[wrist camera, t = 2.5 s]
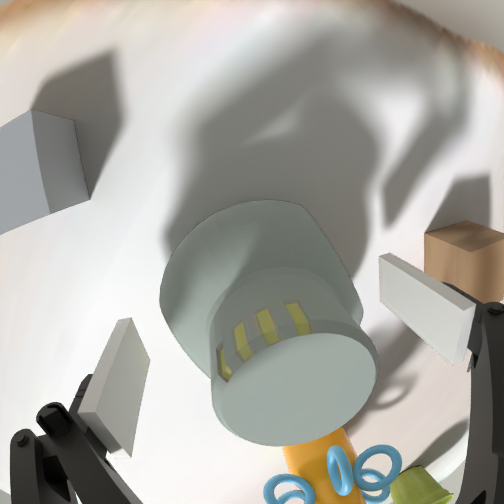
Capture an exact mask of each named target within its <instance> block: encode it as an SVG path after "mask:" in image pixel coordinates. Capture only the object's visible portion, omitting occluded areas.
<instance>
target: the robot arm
mask: <svg viewBox="0 0 504 504" xmlns="http://www.w3.org/2000/svg"><path fill="white" fill-rule="evenodd" d="M379 279H380V302H381V303H383V304H384V305H385V306H386V307H387V308H388V309H389V310H391V311H392V312H393V313H394V314H395V315H396V316H397V317H399V318H400V319H401V320H402V321H403V322H404V323H405V324H406V325H407V326H409V327H410V328H411V329H412V330H413V331H414V332H415V333H416V334H417V335H419V336H420V337H421V338H422V339H423V340H424V341H425V342H426V343H427V344H428V345H430V346H431V347H432V348H433V349H434V350H435V351H436V352H437V353H438V354H439V355H440V356H441V357H442V358H443V359H445V360H446V361H447V362H448V363H449V364H450V365H451V366H454V365H456V364H457V363H459V362H461V361H462V360H464V359H465V355H466V351H467V348H468V349H469V350H471V351H472V355H471V359H470V362H469V366H468V369H467V372H469V371H470V368H471V411H470V427H469V439H468V448H467V456H466V463H465V469H464V476H463V481H462V486H461V491H460V494H459V497H458V499H457V501H456V503H455V504H504V304H502V303H499V302H488V303H485V304H483V303H482V302H480V301H479V300H477V299H475V298H474V297H472V296H470V295H469V294H467V293H465V292H464V291H462V290H460V289H459V288H457V287H456V286H454V285H452V284H449V283H445V282H440V281H438V280H436V279H435V278H433V277H431V276H430V275H428V274H426V273H425V272H423V271H421V270H419V269H418V268H416V267H414V266H413V265H411V264H409V263H407V262H406V261H404V260H402V259H400V258H399V257H397V256H395V255H393V254H391V253H388V254H384V255H381V256H379ZM149 364H150V359H149V356H148V354H147V352H146V350H145V348H144V346H143V343H142V341H141V339H140V337H139V334H138V332H137V330H136V327H135V325H134V322H133V320H132V318H126V319H121V320H118V322H117V324H116V326H115V328H114V330H113V332H112V334H111V336H110V338H109V340H108V343H107V345H106V347H105V349H104V351H103V353H102V356H101V358H100V360H99V362H98V365H97V367H96V369H95V371H94V374H88V375H87V376H86V377H85V379H84V380H83V381H82V382H81V384H80V386H79V388H78V391H77V393H76V395H75V398H74V400H73V402H72V404H71V407H70V409H69V412H68V411H67V410H66V409H65V407H64V406H63V405H62V404H61V403H59V402H52V403H49V404H47V405H45V406H44V407H42V408H41V409H40V411H39V412H38V414H37V416H36V422H37V423H38V424H39V426H40V427H41V428H42V429H43V430H44V432H45V433H46V434H45V435H42V436H38V437H37V436H36V435H35V434H34V433H33V432H32V431H31V430H30V429H22V430H20V431H18V432H16V433H15V434H14V436H13V437H12V439H11V443H10V487H11V501H12V504H78V501H77V498H76V494H77V495H78V497H79V499H80V501H81V502H82V504H143V503H142V502H141V501H140V500H139V498H138V497H137V496H136V495H135V494H134V493H133V491H132V490H131V489H130V488H129V487H128V485H127V484H126V483H125V482H124V480H123V479H122V478H121V477H120V475H119V474H118V473H117V471H116V470H115V469H114V467H113V466H112V465H111V463H110V462H109V461H108V460H107V459H106V458H105V457H106V453H107V450H108V452H109V453H110V454H111V455H112V456H113V457H114V458H131V457H132V450H133V444H134V438H135V433H136V427H137V422H138V416H139V411H140V406H141V401H142V396H143V391H144V386H145V382H146V377H147V372H148V368H149ZM75 492H76V494H75Z"/></svg>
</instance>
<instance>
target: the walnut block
mask: <svg viewBox="0 0 504 504" xmlns="http://www.w3.org/2000/svg"><path fill="white" fill-rule="evenodd" d="M424 272H425V273H426V274H428V275H430V276H431V277H433V278H435V279H436V280H438V281H440V282H445V283H449V284H452V285H454V286H456V287H457V288H459V289H460V290H462V291H464V292H465V293H467V294H469V295H470V296H472V297H474V298H475V299H477V300H479V301H480V302H482V303H483V304H485V303H488V302H500V301H501V300H503V297H504V233H501V232H498V231H496V230H493V229H490V228H487V227H484V226H481V225H478V224H475V223H472V222H469V221H465V222H461V223H458V224H455V225H451V226H448V227H444V228H441V229H437V230H434V231H430V232H427V233H424Z"/></svg>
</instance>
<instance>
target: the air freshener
mask: <svg viewBox="0 0 504 504" xmlns="http://www.w3.org/2000/svg"><path fill="white" fill-rule="evenodd" d="M159 302H160V308H161V311H162V314H163V316H164V318H165V320H166V323H167V324H168V326H169V328H170V330H171V332H172V334H173V335H174V337H175V338H176V340H177V341H178V343H179V344H180V346H181V347H182V349H183V350H184V351H185V352H186V354H187V355H188V356H189V357H190V359H191V360H192V361H193V362H194V363H195V364H196V366H197V367H198V368H199V369H200V370H201V371H202V372H203V373H204V374H205V375H206V376H207V377H208V378H210V379H211V391H212V404H213V408H214V411H215V414H216V416H217V418H218V419H219V421H220V422H221V424H222V425H223V426H224V427H225V428H226V429H228V430H229V431H230V432H232V433H233V434H235V435H236V436H238V437H241V438H243V439H245V440H248V441H250V442H253V443H257V444H260V445H266V446H292V445H298V444H303V443H307V442H310V441H313V440H316V439H319V438H321V437H323V436H326V435H328V434H330V433H331V432H333V431H335V430H337V429H338V428H340V427H341V426H343V425H344V424H345V423H347V422H348V421H349V420H350V419H351V418H353V417H354V416H355V415H356V414H357V412H358V411H359V410H360V409H361V408H362V407H363V405H364V404H365V402H366V401H367V399H368V397H369V395H370V393H371V392H372V389H373V387H374V385H375V382H376V379H377V376H378V368H379V361H378V354H377V351H376V348H375V346H374V344H373V343H372V341H371V340H370V338H369V337H368V336H367V335H366V333H365V332H364V331H363V330H362V329H361V327H360V323H361V321H362V318H363V307H362V304H361V301H360V298H359V296H358V294H357V291H356V289H355V287H354V285H353V283H352V281H351V279H350V277H349V275H348V273H347V271H346V269H345V267H344V265H343V264H342V262H341V260H340V258H339V257H338V255H337V253H336V251H335V250H334V248H333V247H332V245H331V243H330V242H329V240H328V239H327V237H326V236H325V234H324V233H323V231H322V230H321V228H320V227H319V226H318V224H317V223H316V222H315V220H314V219H313V218H312V216H311V215H310V214H309V213H308V212H307V211H306V209H304V208H303V207H302V206H301V205H298V204H295V203H291V202H288V201H277V200H259V201H248V202H244V203H240V204H237V205H233V206H230V207H227V208H225V209H223V210H221V211H219V212H216V213H214V214H212V215H211V216H209V217H208V218H206V219H205V220H203V221H202V222H201V223H199V224H198V225H197V226H195V227H194V228H193V229H192V230H191V231H190V232H189V233H188V234H187V235H186V236H185V237H184V238H183V239H182V241H181V242H180V244H179V245H178V246H177V248H176V249H175V250H174V252H173V254H172V256H171V258H170V260H169V262H168V264H167V266H166V268H165V271H164V275H163V278H162V282H161V286H160V298H159Z"/></svg>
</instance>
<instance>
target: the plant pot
mask: <svg viewBox="0 0 504 504" xmlns="http://www.w3.org/2000/svg"><path fill="white" fill-rule="evenodd" d="M390 493H391V496H392V499H393V502H394V504H447V503H448V502H449V501H450V500H451V499H452V498H453V497H454V494H453V493H451V494H450V493H449V492H448V491H447V490H445V489H443V488H442V487H441V486H440V485H439V484H438V483H437V482H436V481H435V480H434V478H433V477H432V476H431V475H430V474H429V473H428V472H427V471H426V470H425V469H424V468H423V467H422V466H419V467H412V468H410V469H408V470H406V471H405V472H403V473H401V474H399V475H398V476H397V478H396V479H395V480H394V481H393V482H392V483H391V484H390Z"/></svg>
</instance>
